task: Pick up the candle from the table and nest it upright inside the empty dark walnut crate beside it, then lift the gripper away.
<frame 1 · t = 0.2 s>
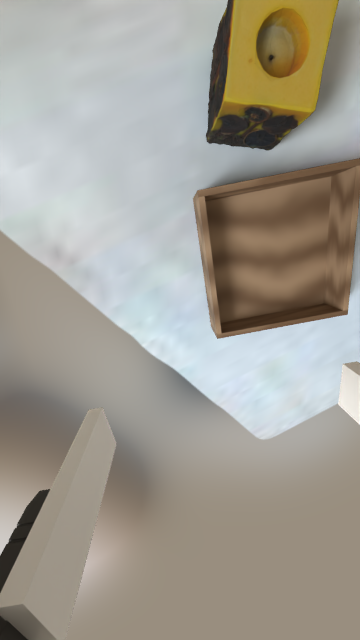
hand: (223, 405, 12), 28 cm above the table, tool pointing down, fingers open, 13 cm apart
candle: (243, 104, 29), on the table
crate: (265, 257, 36), on the table
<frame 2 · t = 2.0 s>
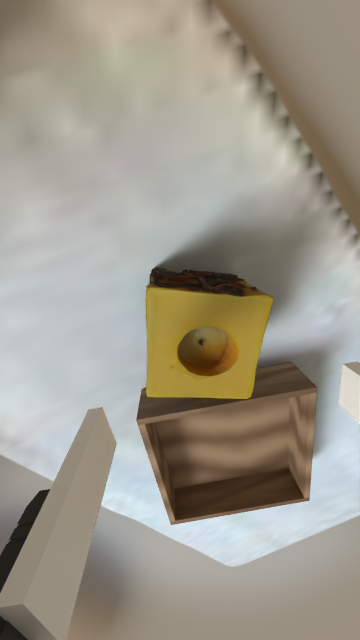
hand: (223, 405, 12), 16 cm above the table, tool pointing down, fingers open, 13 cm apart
candle: (190, 310, 27), on the table
crate: (223, 431, 34), on the table
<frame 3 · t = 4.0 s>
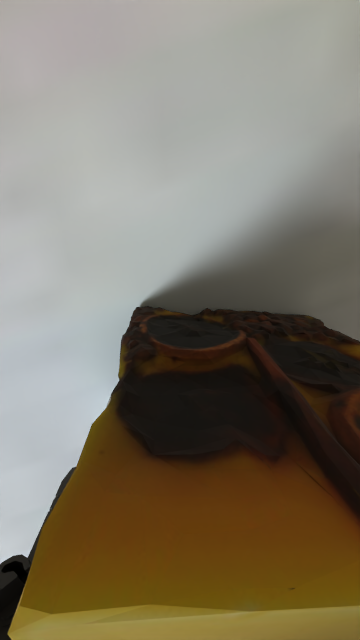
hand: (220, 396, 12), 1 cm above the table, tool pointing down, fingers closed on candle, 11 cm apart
candle: (215, 382, 13), on the table, touching gripper
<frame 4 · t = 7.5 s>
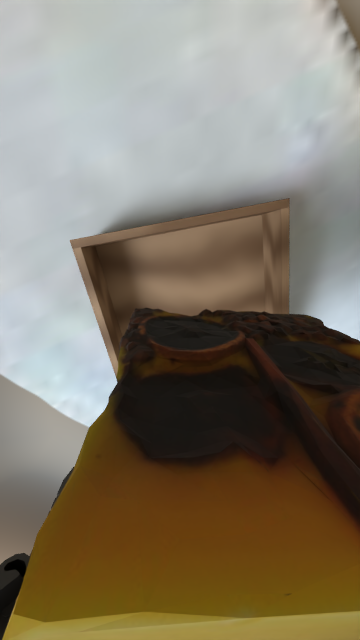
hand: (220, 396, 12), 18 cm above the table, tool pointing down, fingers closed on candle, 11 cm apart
candle: (215, 383, 13), point 17 cm above the table, touching gripper
crate: (190, 308, 29), on the table
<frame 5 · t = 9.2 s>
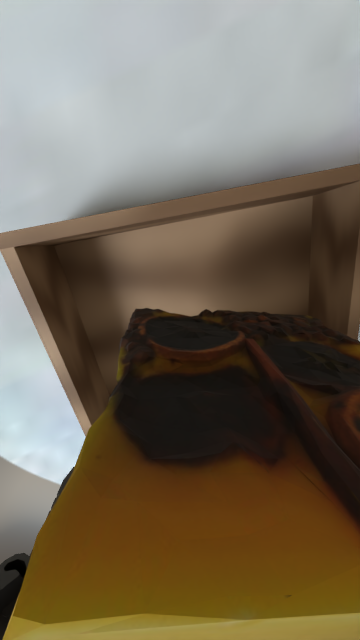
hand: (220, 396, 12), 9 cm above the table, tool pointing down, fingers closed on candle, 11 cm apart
candle: (215, 383, 13), point 8 cm above the table, touching gripper
crate: (199, 333, 20), on the table
when the fingers open (3 cm above the table, at t = 10.8 s): candle drops 1 cm, resting on crate.
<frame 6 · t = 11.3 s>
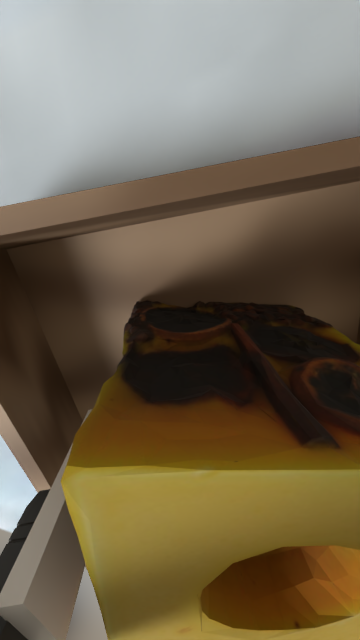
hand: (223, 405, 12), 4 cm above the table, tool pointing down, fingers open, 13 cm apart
candle: (210, 369, 15), point 1 cm above the table, touching crate
crate: (209, 364, 16), on the table
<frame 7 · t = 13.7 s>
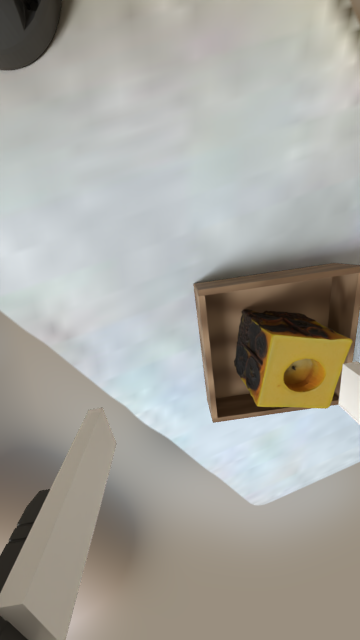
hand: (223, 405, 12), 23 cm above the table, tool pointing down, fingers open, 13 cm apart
candle: (265, 339, 35), point 1 cm above the table, touching crate
crate: (264, 337, 36), on the table
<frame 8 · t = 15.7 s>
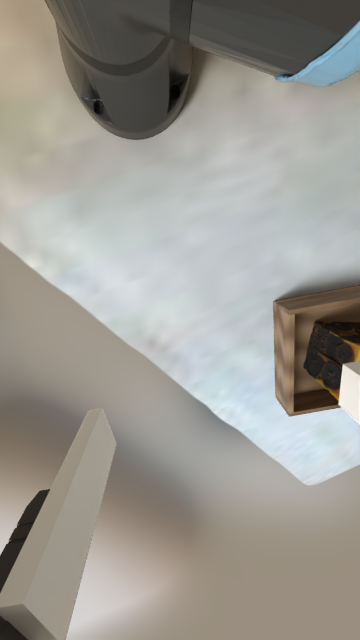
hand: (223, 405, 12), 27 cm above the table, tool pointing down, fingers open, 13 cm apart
candle: (331, 345, 41), point 1 cm above the table, touching crate
crate: (328, 343, 41), on the table
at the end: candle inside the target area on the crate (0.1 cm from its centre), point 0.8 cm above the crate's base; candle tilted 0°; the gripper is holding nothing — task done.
